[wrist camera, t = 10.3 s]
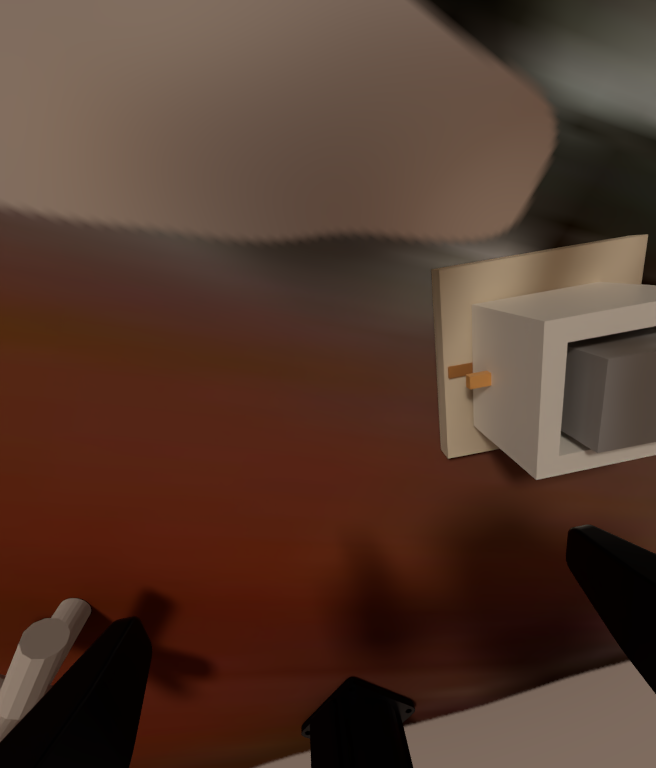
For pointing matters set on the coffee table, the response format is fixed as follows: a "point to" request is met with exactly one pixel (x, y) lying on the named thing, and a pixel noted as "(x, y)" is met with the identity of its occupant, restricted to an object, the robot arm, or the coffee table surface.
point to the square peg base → (584, 357)
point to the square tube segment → (546, 369)
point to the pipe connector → (39, 661)
